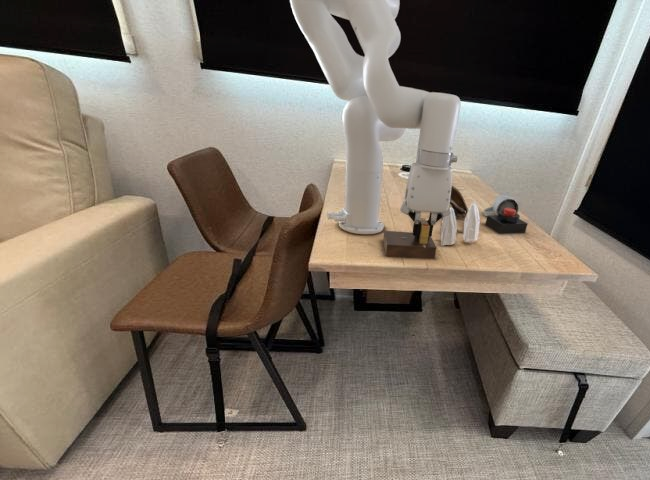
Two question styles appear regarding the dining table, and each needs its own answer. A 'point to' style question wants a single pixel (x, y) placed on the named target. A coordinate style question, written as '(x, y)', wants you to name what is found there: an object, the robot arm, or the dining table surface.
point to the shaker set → (469, 227)
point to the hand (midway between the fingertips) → (421, 237)
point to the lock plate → (407, 245)
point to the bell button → (509, 212)
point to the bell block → (506, 223)
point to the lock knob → (424, 231)
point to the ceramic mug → (502, 205)
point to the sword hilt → (457, 205)
